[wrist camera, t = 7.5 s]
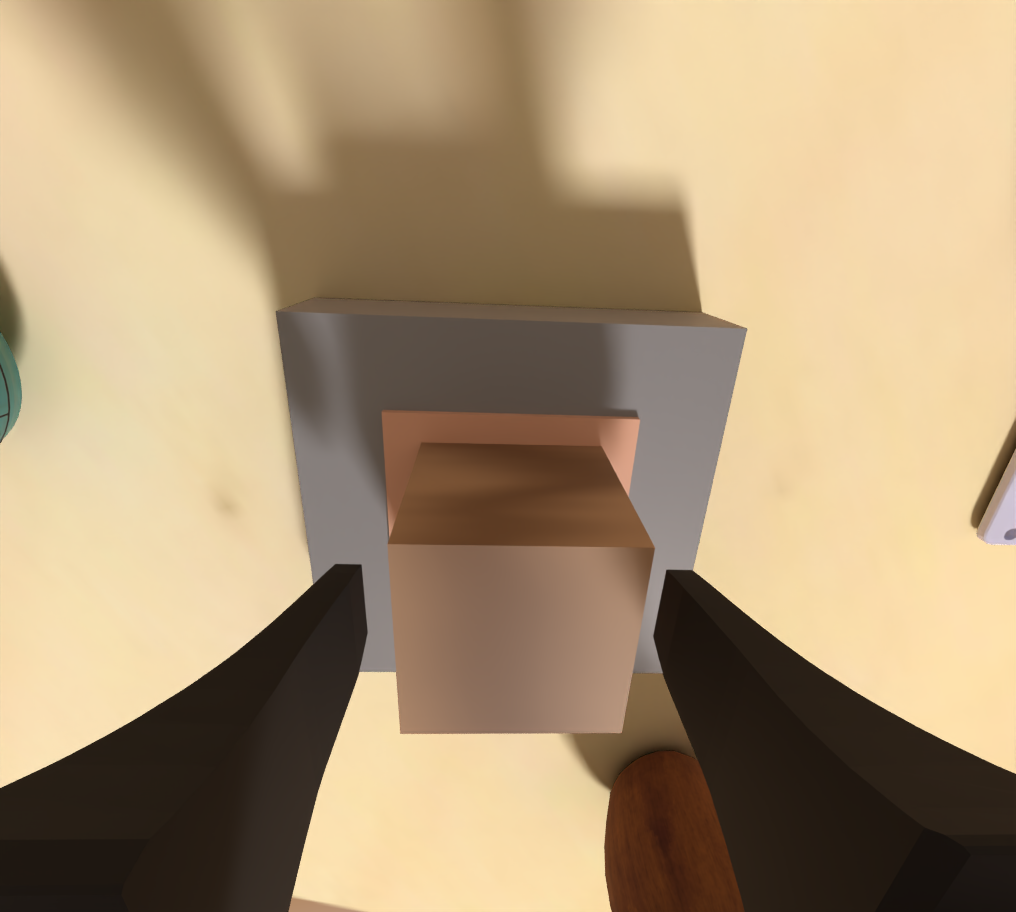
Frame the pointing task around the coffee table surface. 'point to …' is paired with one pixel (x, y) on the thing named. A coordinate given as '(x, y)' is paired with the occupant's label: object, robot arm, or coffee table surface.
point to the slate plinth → (500, 417)
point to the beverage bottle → (8, 389)
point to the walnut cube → (516, 590)
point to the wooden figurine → (666, 840)
